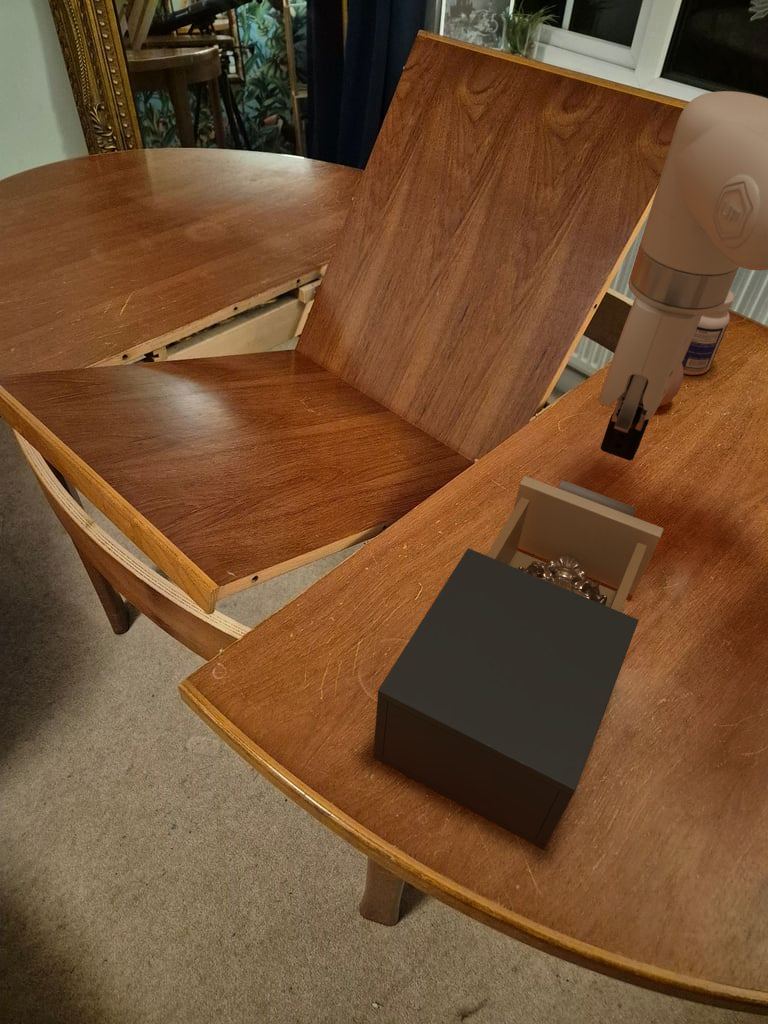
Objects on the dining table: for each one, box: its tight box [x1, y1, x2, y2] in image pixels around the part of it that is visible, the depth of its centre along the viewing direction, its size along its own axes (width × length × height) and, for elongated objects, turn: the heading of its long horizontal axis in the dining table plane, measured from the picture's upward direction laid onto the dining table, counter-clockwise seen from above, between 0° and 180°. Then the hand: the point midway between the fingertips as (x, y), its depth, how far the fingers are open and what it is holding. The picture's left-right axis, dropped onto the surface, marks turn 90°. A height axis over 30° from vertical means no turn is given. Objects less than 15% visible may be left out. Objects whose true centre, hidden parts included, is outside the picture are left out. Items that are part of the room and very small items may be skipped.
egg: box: [659, 363, 684, 407], centre depth 86 cm, size 5×5×7 cm
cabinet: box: [372, 547, 639, 850], centre depth 55 cm, size 15×14×10 cm
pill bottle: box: [682, 290, 735, 376], centre depth 91 cm, size 6×6×10 cm
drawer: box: [485, 475, 664, 613], centre depth 63 cm, size 18×12×8 cm
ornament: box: [518, 555, 607, 605], centre depth 63 cm, size 8×7×4 cm
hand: (618, 450), depth 71 cm, fingers closed
